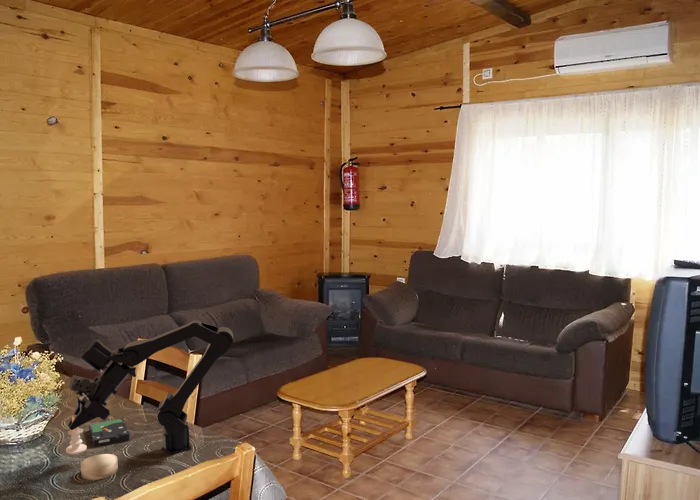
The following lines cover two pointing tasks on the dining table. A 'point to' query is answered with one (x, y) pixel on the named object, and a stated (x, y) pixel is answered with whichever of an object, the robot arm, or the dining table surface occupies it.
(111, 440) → the disk drive
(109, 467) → the stand
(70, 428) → the robot arm
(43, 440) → the dining table surface
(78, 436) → the candle
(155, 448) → the dining table surface
